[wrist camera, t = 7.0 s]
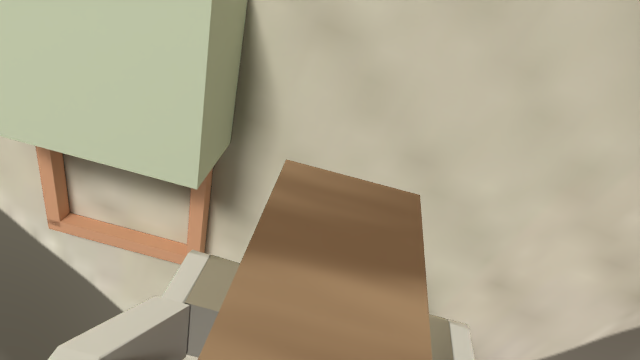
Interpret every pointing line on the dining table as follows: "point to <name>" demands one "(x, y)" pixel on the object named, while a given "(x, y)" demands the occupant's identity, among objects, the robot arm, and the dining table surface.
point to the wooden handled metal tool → (328, 275)
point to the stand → (123, 81)
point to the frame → (113, 234)
